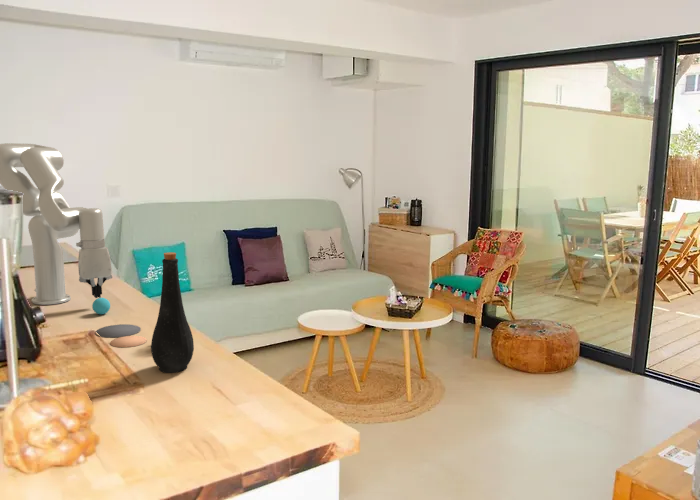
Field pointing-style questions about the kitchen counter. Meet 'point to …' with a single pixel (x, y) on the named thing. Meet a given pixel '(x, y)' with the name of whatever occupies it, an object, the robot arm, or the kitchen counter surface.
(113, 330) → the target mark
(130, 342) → the far mark
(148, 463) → the kitchen counter surface
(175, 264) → the bottle
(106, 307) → the ball
